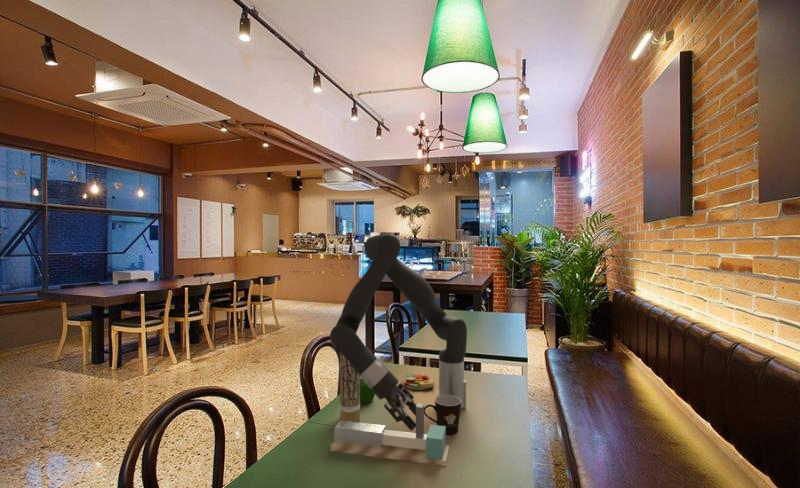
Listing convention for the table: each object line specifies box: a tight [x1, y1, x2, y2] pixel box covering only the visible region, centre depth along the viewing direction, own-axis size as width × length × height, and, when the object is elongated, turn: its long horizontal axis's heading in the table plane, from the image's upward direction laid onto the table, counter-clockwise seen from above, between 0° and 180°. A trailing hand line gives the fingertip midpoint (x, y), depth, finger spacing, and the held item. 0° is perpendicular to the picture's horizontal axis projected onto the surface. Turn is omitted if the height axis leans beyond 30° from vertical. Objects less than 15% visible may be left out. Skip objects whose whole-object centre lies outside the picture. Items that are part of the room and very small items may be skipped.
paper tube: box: [339, 351, 361, 422], centre depth 135 cm, size 7×7×25 cm
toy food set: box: [402, 373, 435, 391], centre depth 167 cm, size 13×13×3 cm
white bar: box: [382, 403, 428, 450], centre depth 114 cm, size 19×3×12 cm, turn 77°
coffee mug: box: [424, 395, 462, 437], centre depth 128 cm, size 12×9×10 cm
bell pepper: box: [360, 377, 376, 404], centre depth 151 cm, size 8×8×10 cm
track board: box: [330, 441, 450, 467], centre depth 116 cm, size 34×8×2 cm, turn 77°
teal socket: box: [426, 424, 447, 460], centre depth 112 cm, size 4×8×6 cm, turn 166°
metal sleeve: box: [333, 419, 386, 449], centre depth 118 cm, size 14×5×5 cm, turn 77°
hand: (417, 421), depth 114 cm, fingers open, 8 cm apart
